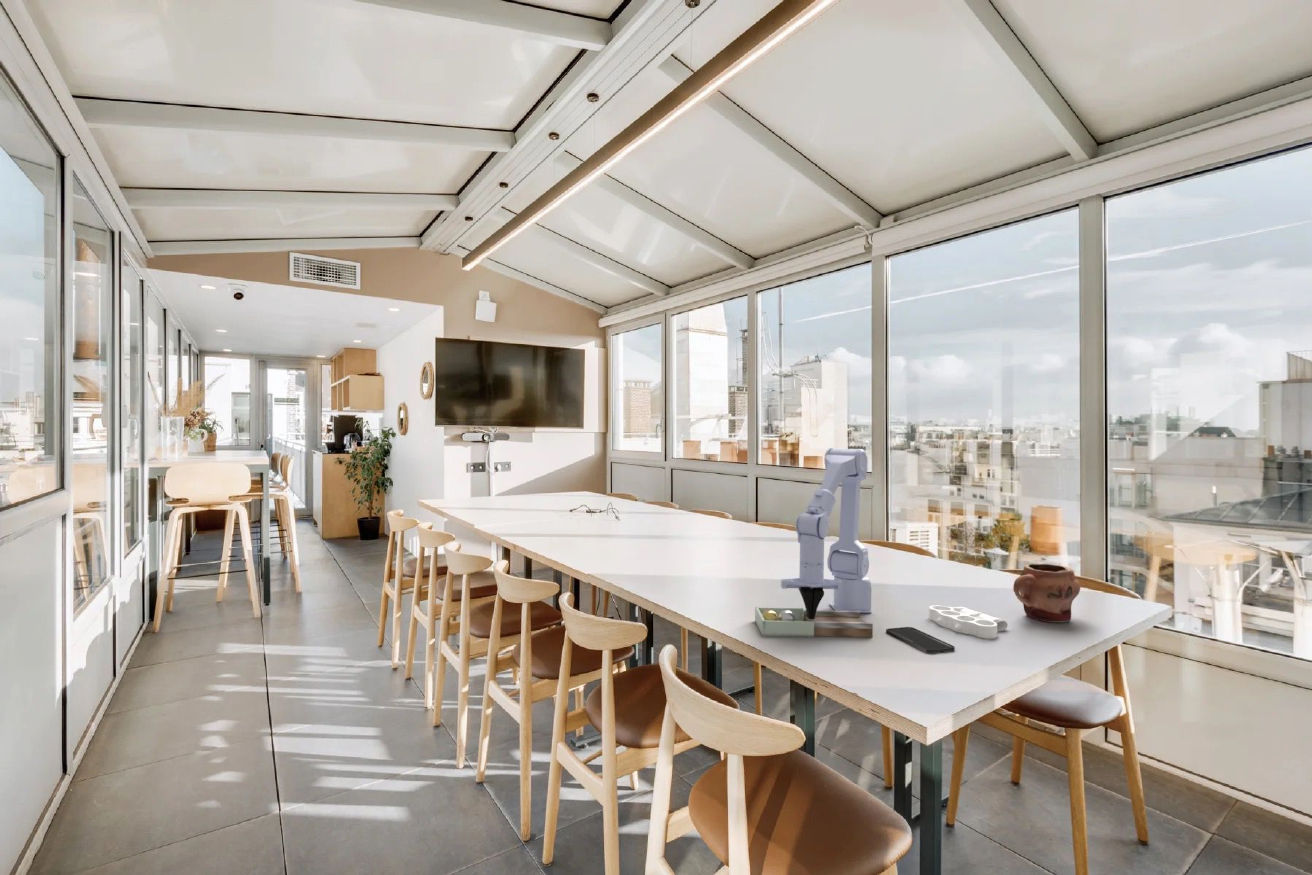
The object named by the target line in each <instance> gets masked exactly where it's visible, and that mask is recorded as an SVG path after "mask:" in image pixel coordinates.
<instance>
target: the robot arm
mask: <svg viewBox="0 0 1312 875" xmlns="http://www.w3.org/2000/svg"><path fill="white" fill-rule="evenodd" d="M824 453H825V454H824V459H823V460H824V468H825V473H824V476H823V479H822V482H821V485H820V488H819V489H817V490H815V491H814V492H813V493H812V495H811V498H810V501H809V502H808V505H807V507H806V509H805V510H804V512H803V513H801V514H799V515H798V517H797V519H796V524H795V533H796V534H797V542H798V543H799V577H796V578H780V587H781V589H782V590H786V589H798V591H799V593H800V595H801V598H802V601H803V603H804V607H805V610H806V612H807V618H808V619H815V614H816V610H818V608H819V604H820V603H821V601H822V599H823V598H824V595H825V591H824V590H833V602H832V601H830V602H828V605H829V606H831V607H832V609H834V610H833V611H860V614H863V613H864V614H865V613H866V614H871V613H873V611H872V583H871V580H870V578H869V577H868V576H867V574H868V572H869V569H870V568H869V567H870V560H869V551H868V548H867V547H866V546H865V545H863V544H862V543H861V542H860V541H859V540H858V539H859V524H860V523H859V520H860V519H859V518H860V500H861V486H862V485H861V482H862V481H864V480H866V479H867V474H868V473H867V472H868V456H867V454H866V452H865V450H864V449H862V448H858V449H857V448H855V449H852V448H833V447H830V448H828V449H827V450H826V452H824ZM840 484H841V491H840V494H841V495H840V508H839V510H840V512H839V515H840V516H839V532H838V540H837V541H835V542H833V543H832V544H831V545H830V546H829V551H828V552H829V553H828V556H827V564H826V565H827V569H828V570H829V572H830V573H831V575H832V576H833V579H827V578H824V577H825V576H824V574H825V572H824V571H825V570H824V567H825V566H824V565H825V538H827V536H828V533H829V529H830V523H831V522H830V521H831V518H830V516H831V513H832V511H833V509H834V506H835V504H836V497H835V493H836V491H838V490H837V489H838V488H839V486H840Z"/></svg>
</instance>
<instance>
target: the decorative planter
mask: <svg viewBox="0 0 1312 875" xmlns="http://www.w3.org/2000/svg"><path fill="white" fill-rule="evenodd" d="M1074 572H1075V571H1073V569H1071V568H1069V567H1067V566H1064V565H1056V564H1048V563H1041V564H1040V563H1037V564H1036V563H1035V564H1034V563H1032V564H1026V565H1025V566H1024V567H1023V570H1022V572H1021V574H1020V575H1019V576H1018V577H1016V578H1015V579H1014V582H1013V585H1012V588H1013V590H1012V591H1013V593H1014V595H1015V596H1016V598H1017V599H1018V601H1020V602H1021V604H1022V605H1023V611H1024V613H1025V615H1026V616H1027V617H1029V618H1031V619H1034V620H1037V621H1042V622H1048V623H1065V622H1069V621H1071V620H1072V604H1073V602H1074V600H1075V599H1076V598H1077V597H1078V596H1079V594H1080V592H1081V584H1080V583H1079V581H1078V580H1077V578H1076V575H1075V573H1074Z"/></svg>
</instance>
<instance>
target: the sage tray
mask: <svg viewBox="0 0 1312 875" xmlns="http://www.w3.org/2000/svg"><path fill="white" fill-rule="evenodd" d="M754 609H755V610H754V611H755V616H754V619H755V620H754V621H755V623H756V624H757V627H758V629H759V632H760V634H761V636H762V637H784V638H785V637H787V638H788V637H790V638H794V637H795V638H814V637H815V636H814V622H813V621H803V610H804V608H803V607H776V606H775V607H774V606H773V607H772V606H769V607H768V606H767V607H766V606H755V608H754ZM766 610H773V611H774V612H776V614H777V616H779V614H780V612H781V611H783V610H789V611H791V612H792V613H793V614H794V616H795V621H779V620H778V621H765V620H764V618H763V616H762V614H763V612H765V611H766Z"/></svg>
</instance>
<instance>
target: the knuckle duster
mask: <svg viewBox="0 0 1312 875" xmlns="http://www.w3.org/2000/svg"><path fill="white" fill-rule="evenodd" d="M928 619H929V621H932V622H936V623H937V624H938V625H939V626H940V627H942V628H947V629H950V630H952V631H954V632H958V633H960V634H961V633H962V634H967V635H971V636H974V637H976V638H982V639H988V640H990V639H997V638H998V632H1002V631H1005V630H1006V629H1007V628H1008V622H1007V620H1005V619H1003V618H1000V617H999V618H998V617H994V616H992V615H989V614H986V613H983V612H979V611H976V610H972V609H969V608H967V607H965V606H964V607H963V606H957V607H954V606H948V605H947V606H945V605H937V604H935V605H930V606H929V607H928Z"/></svg>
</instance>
